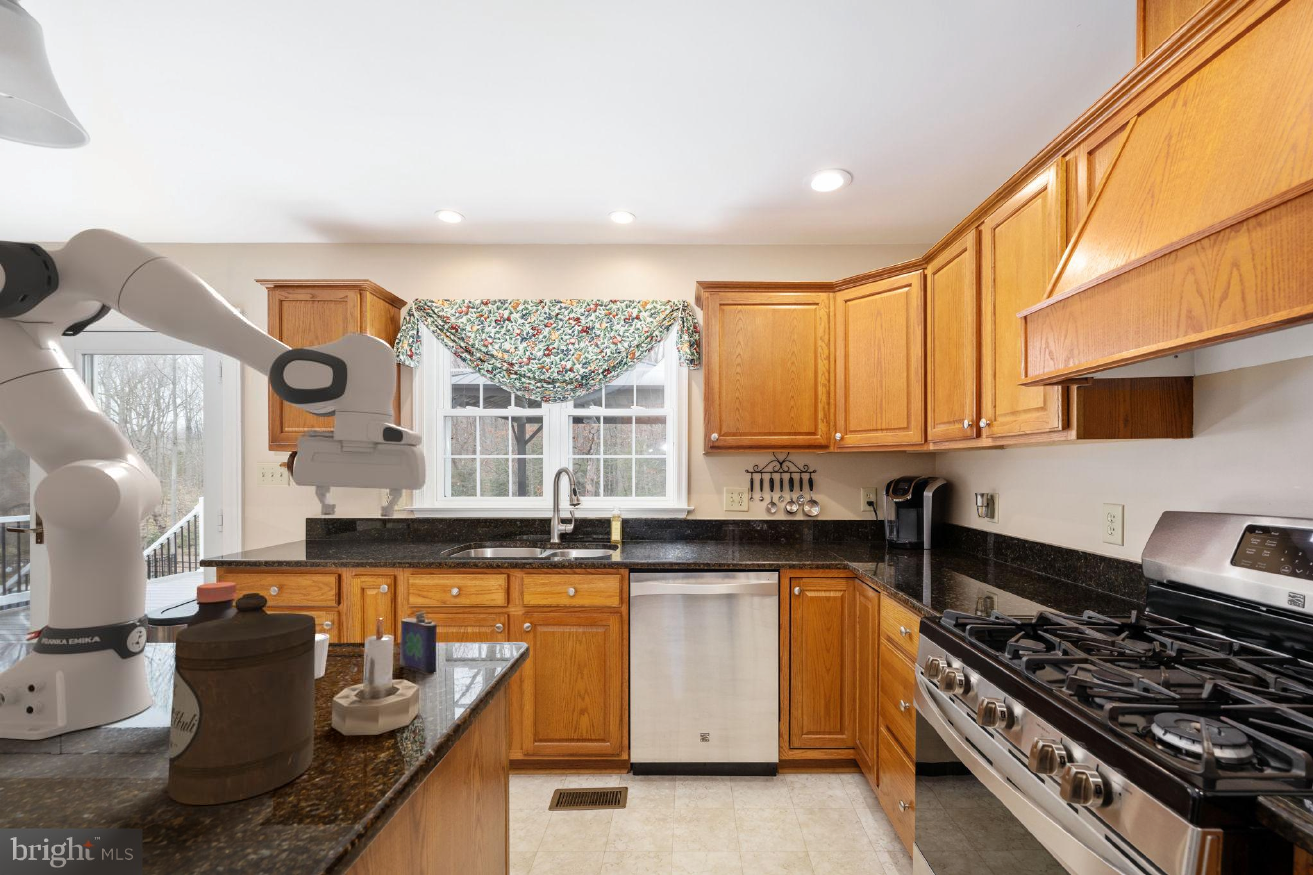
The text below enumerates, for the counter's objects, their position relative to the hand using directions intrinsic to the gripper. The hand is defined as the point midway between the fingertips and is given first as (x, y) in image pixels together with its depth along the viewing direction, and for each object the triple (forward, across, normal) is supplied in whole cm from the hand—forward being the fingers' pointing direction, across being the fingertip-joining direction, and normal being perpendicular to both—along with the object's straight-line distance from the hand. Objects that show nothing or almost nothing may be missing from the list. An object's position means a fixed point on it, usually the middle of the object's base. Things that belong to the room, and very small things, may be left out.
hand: (357, 516), depth 99 cm
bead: (+30, +7, -6) cm, 31 cm away
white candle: (+30, +7, -6) cm, 31 cm away
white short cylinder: (+31, -13, +15) cm, 36 cm away
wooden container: (+31, -2, -22) cm, 38 cm away
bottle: (+31, -18, -4) cm, 36 cm away
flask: (+30, +6, +18) cm, 35 cm away
